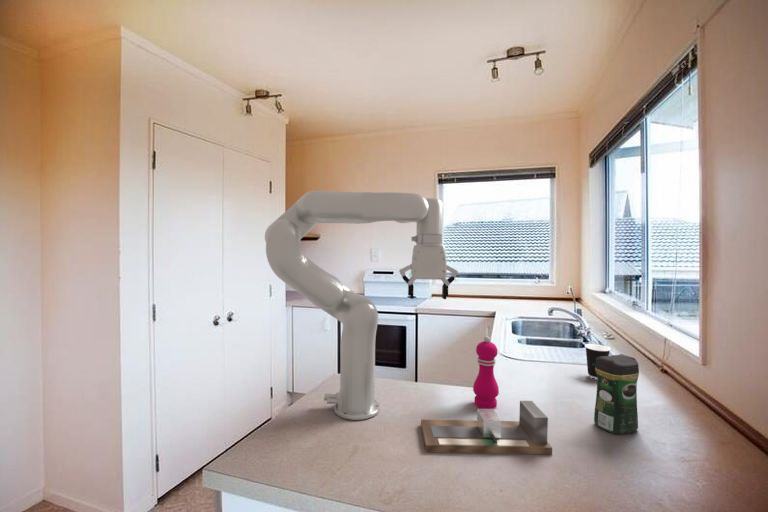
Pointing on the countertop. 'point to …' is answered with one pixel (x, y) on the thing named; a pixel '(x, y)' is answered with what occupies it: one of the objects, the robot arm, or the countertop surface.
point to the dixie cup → (594, 357)
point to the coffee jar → (616, 394)
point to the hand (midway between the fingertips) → (427, 298)
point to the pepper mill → (486, 375)
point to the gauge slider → (489, 424)
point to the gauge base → (468, 438)
